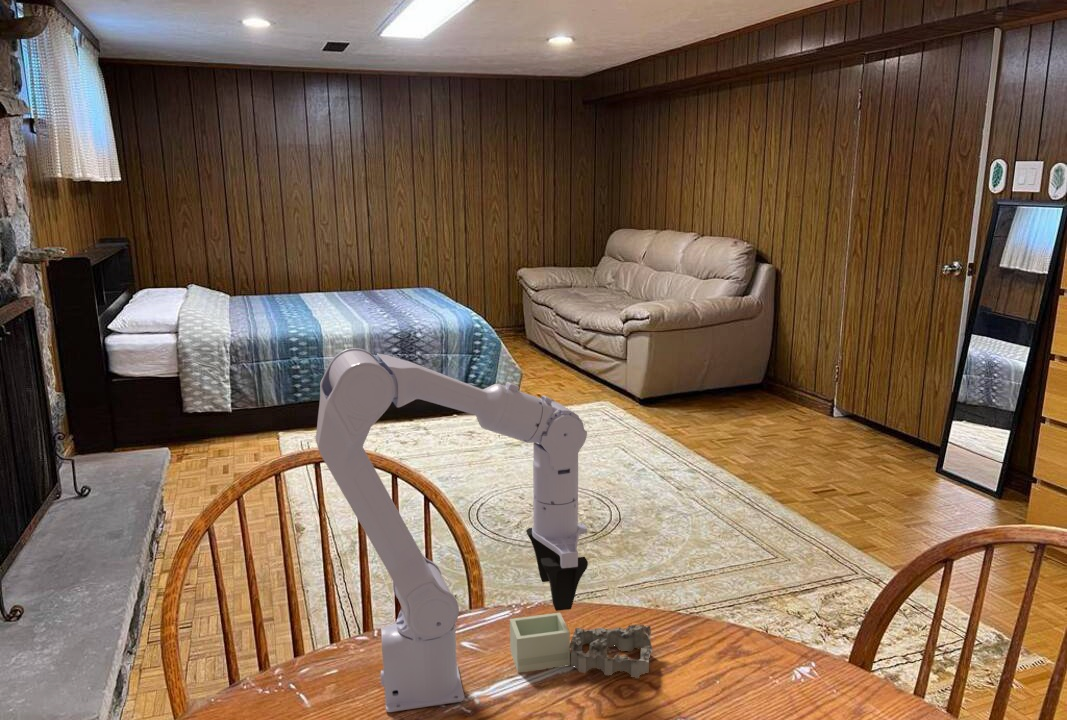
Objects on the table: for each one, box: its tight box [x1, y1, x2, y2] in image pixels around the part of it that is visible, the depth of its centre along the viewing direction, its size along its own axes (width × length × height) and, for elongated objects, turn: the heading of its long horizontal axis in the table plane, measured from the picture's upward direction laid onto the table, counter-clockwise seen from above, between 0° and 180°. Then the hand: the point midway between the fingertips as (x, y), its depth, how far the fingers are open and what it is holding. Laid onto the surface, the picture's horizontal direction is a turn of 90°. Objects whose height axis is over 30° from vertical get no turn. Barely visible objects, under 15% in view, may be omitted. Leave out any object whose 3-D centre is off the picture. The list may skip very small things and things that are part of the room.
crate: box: [509, 612, 571, 674], centre depth 105 cm, size 7×5×5 cm
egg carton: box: [569, 624, 653, 679], centre depth 105 cm, size 11×8×4 cm
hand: (555, 594), depth 104 cm, fingers open, 7 cm apart
